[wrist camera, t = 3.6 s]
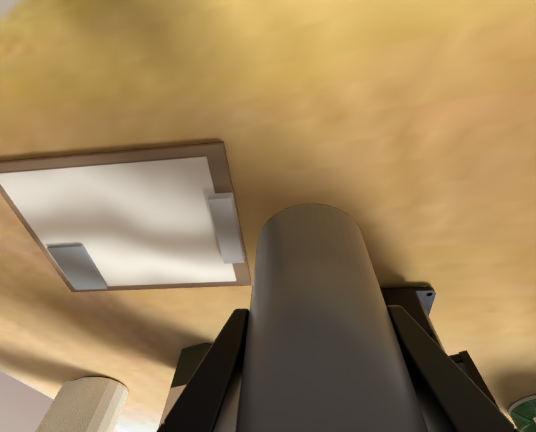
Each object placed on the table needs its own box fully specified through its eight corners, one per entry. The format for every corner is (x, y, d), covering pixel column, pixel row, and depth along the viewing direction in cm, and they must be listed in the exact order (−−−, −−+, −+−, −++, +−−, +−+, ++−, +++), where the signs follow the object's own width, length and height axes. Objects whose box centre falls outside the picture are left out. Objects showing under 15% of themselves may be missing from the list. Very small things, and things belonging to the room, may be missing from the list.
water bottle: (359, 282, 12) (514, 854, 4) (261, 285, 13) (218, 812, 4) (369, 199, 10) (788, 1151, 2) (249, 205, 10) (105, 1008, 2)
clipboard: (251, 281, 26) (250, 292, 25) (74, 288, 28) (66, 298, 27) (223, 142, 19) (220, 149, 18) (-15, 162, 21) (-30, 170, 20)
